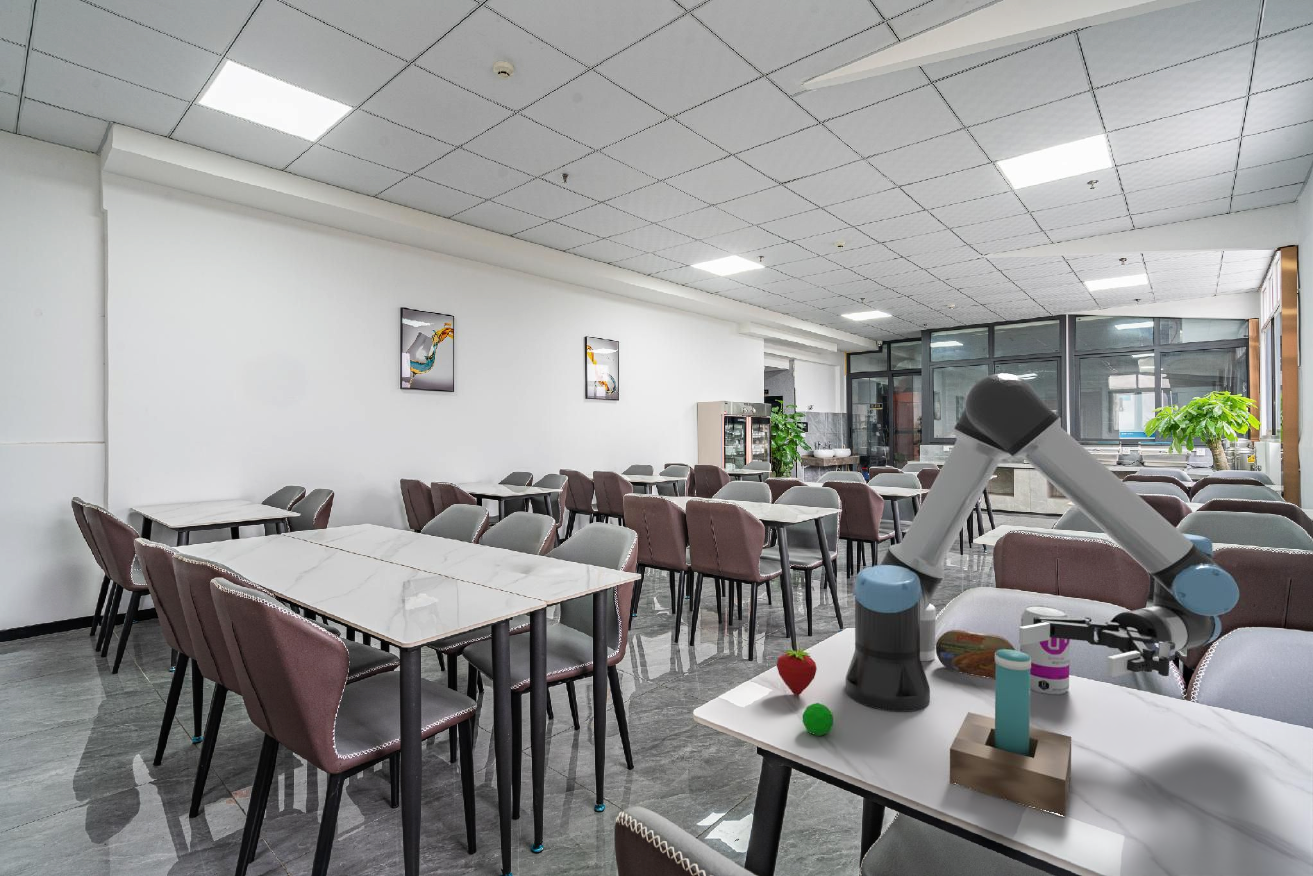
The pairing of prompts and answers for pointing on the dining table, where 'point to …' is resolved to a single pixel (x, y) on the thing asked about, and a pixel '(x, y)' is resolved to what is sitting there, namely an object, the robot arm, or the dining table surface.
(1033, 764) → the socket block
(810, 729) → the polyhedron
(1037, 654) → the supplement can
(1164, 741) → the dining table surface
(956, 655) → the tin
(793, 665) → the strawberry
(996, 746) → the peg
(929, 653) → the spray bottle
